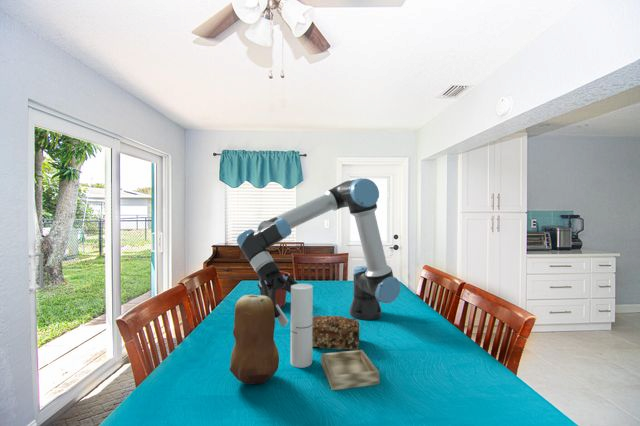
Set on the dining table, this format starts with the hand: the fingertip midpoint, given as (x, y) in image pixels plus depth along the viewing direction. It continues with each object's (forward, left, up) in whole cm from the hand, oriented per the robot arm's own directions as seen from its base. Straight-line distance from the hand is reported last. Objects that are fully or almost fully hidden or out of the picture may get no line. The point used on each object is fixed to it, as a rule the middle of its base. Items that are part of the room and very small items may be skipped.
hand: (299, 318), depth 98 cm
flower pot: (+4, -61, -15) cm, 63 cm away
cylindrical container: (-1, 0, -15) cm, 15 cm away
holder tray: (-14, +10, -14) cm, 22 cm away
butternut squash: (+14, +8, -15) cm, 22 cm away
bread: (-15, -11, -15) cm, 24 cm away
